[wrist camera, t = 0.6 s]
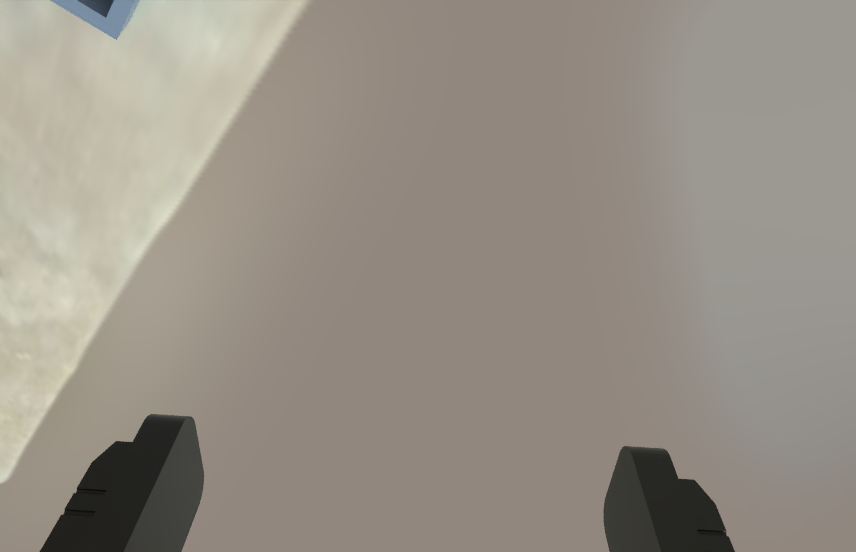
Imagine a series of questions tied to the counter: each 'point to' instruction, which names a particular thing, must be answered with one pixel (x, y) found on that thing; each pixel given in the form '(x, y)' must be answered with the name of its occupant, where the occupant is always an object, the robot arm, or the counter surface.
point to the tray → (102, 13)
